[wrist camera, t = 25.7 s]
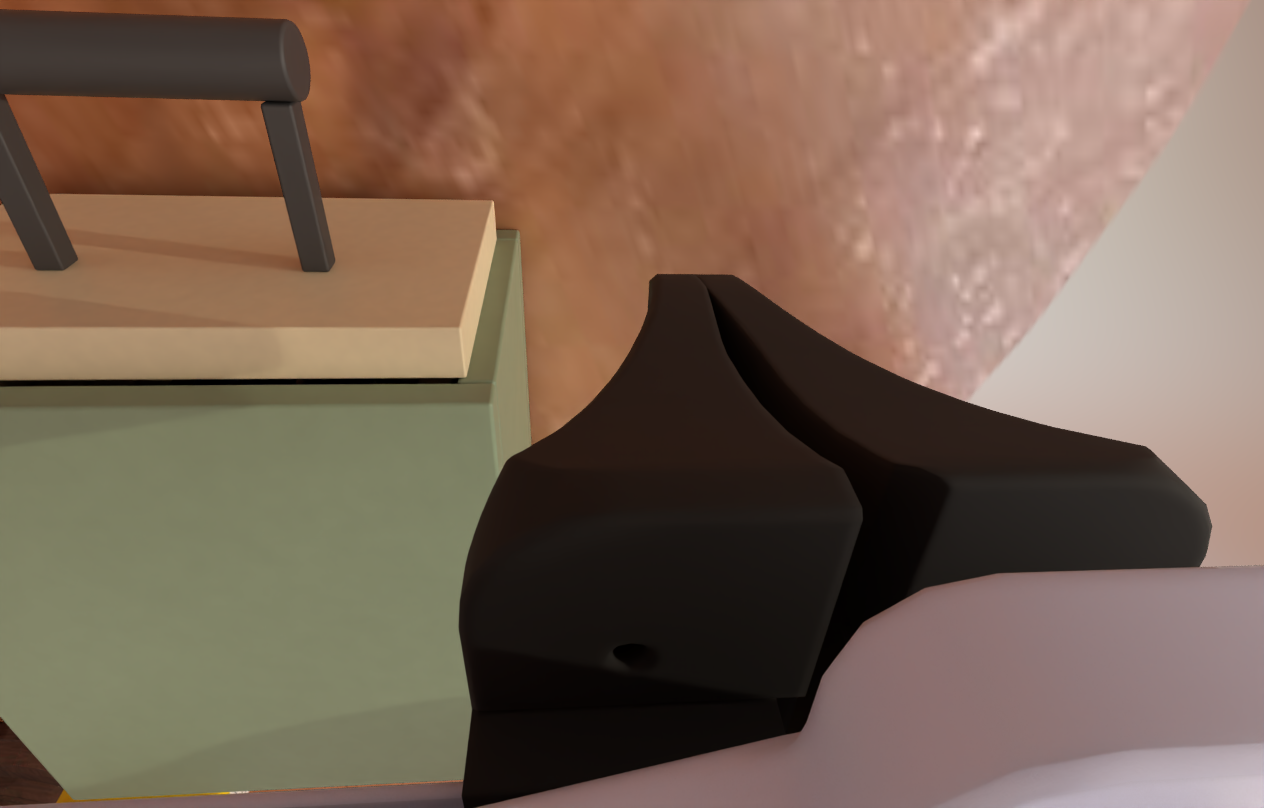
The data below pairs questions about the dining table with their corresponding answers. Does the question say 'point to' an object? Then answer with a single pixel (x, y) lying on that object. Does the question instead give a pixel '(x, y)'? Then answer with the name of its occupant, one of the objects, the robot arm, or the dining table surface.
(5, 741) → the dark sphere on stand
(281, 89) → the drawer
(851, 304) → the dining table surface
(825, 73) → the dining table surface
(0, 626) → the cabinet
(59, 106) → the dining table surface
